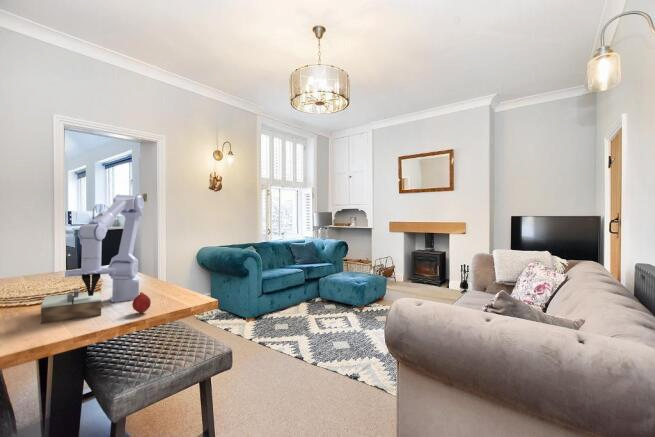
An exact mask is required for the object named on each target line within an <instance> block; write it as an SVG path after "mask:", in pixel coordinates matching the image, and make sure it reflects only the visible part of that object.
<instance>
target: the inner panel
mask: <svg viewBox="0 0 655 437" xmlns="http://www.w3.org/2000/svg"><path fill="white" fill-rule="evenodd" d="M73 296H74V301H73V304H79V303H88V302H97V301H101V302H102V294H101V291H99V290H98V291H94V293H93V296H88V291H86V292H79V288H74V291H73Z"/></svg>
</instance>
